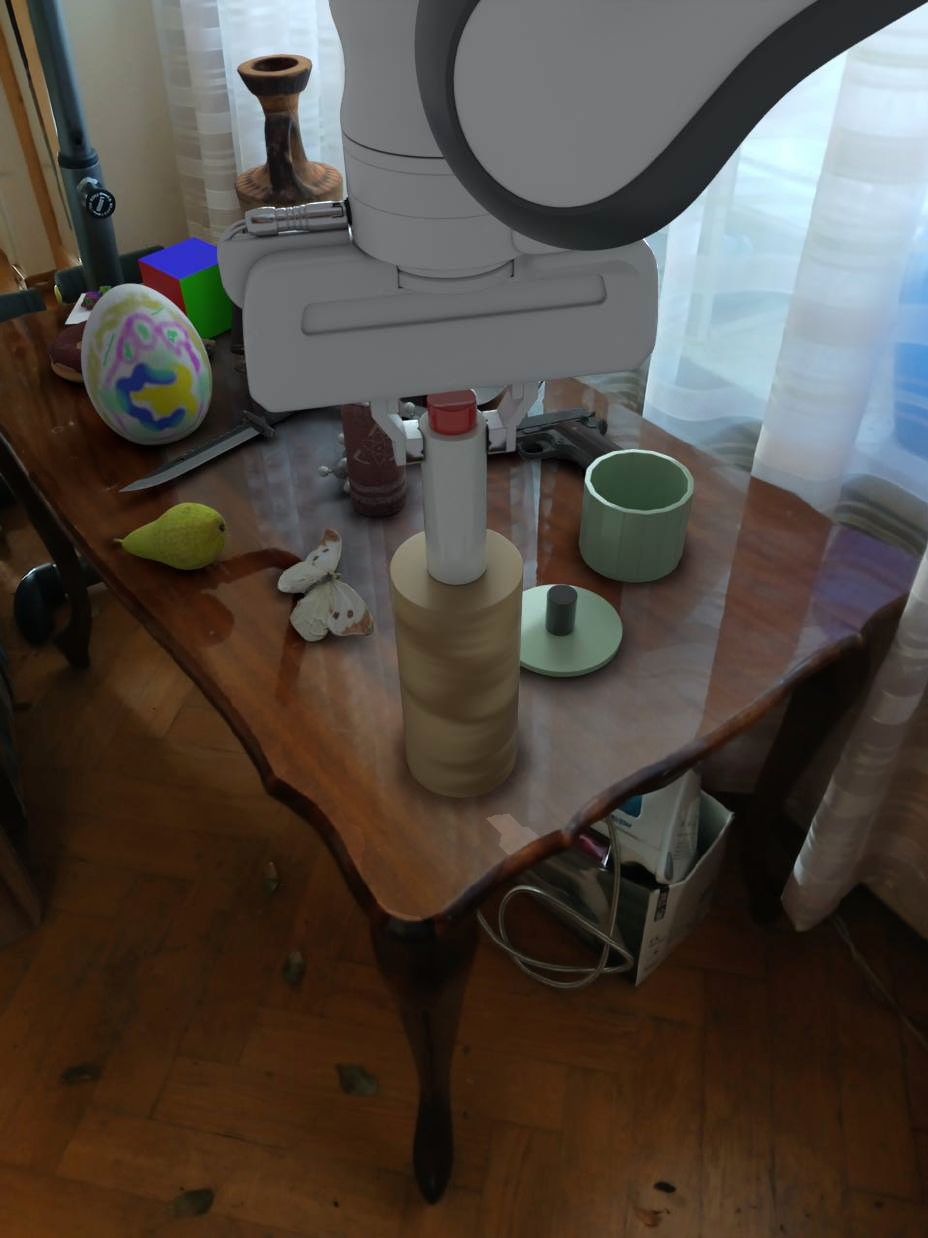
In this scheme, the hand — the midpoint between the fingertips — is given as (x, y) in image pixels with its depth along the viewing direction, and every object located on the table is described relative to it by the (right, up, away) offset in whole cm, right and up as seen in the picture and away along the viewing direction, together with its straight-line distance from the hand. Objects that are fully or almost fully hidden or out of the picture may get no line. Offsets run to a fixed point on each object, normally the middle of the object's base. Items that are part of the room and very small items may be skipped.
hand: (454, 452), depth 53 cm
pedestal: (0, -19, +18) cm, 26 cm away
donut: (-41, +20, +58) cm, 74 cm away
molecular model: (-6, +6, +41) cm, 42 cm away
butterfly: (-11, -8, +30) cm, 33 cm away
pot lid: (+8, -10, +26) cm, 29 cm away
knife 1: (-21, +8, +44) cm, 50 cm away
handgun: (+9, +3, +38) cm, 39 cm away
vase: (-17, +21, +59) cm, 65 cm away
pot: (+15, -3, +34) cm, 38 cm away
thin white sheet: (-44, +30, +69) cm, 87 cm away
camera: (-15, +25, +49) cm, 57 cm away
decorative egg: (-31, +11, +50) cm, 60 cm away
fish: (-33, +21, +53) cm, 66 cm away
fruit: (-20, -1, +31) cm, 37 cm away
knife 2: (-11, +14, +50) cm, 53 cm away
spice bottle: (0, -6, +6) cm, 8 cm away
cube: (-31, +27, +66) cm, 78 cm away
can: (-7, +2, +40) cm, 41 cm away
